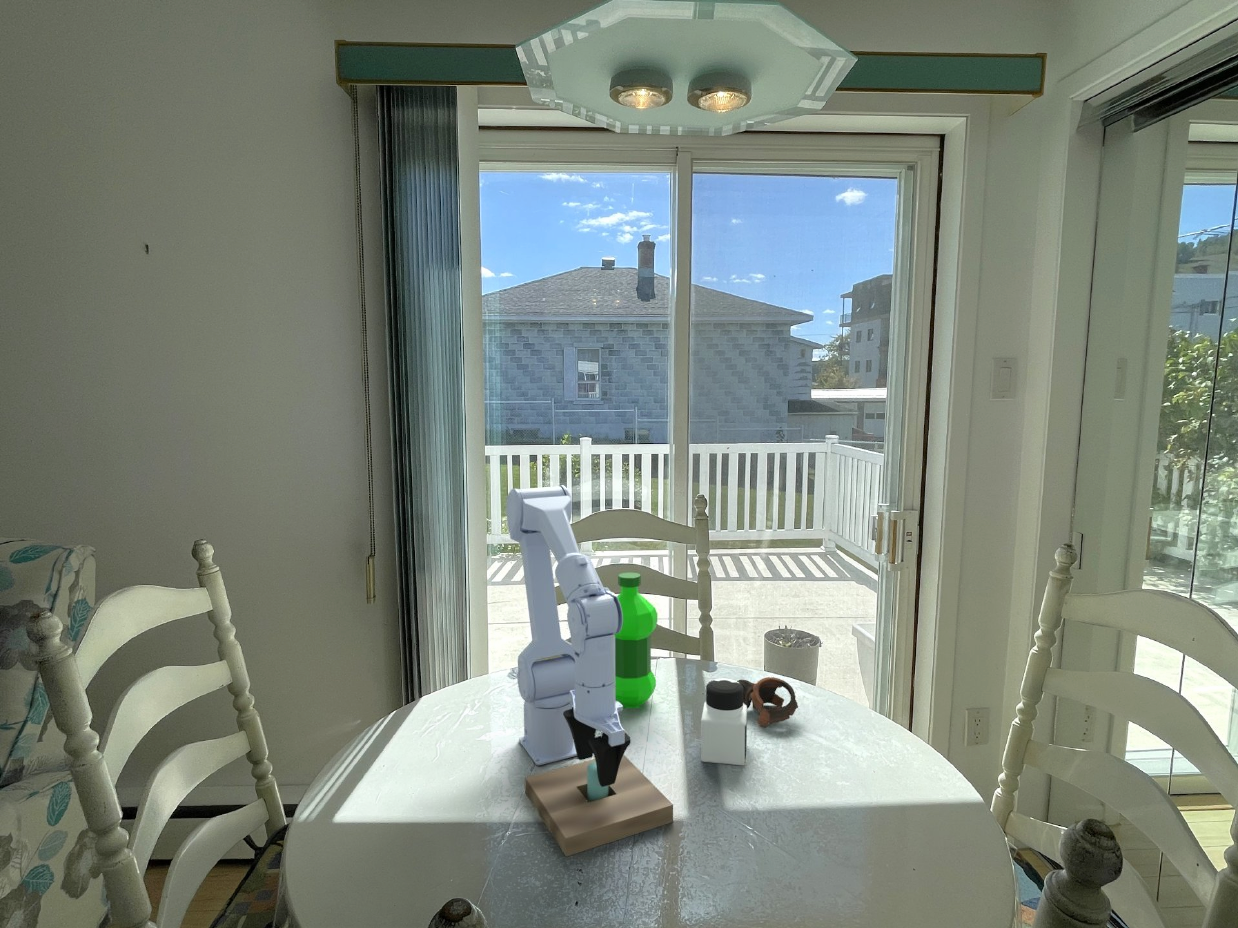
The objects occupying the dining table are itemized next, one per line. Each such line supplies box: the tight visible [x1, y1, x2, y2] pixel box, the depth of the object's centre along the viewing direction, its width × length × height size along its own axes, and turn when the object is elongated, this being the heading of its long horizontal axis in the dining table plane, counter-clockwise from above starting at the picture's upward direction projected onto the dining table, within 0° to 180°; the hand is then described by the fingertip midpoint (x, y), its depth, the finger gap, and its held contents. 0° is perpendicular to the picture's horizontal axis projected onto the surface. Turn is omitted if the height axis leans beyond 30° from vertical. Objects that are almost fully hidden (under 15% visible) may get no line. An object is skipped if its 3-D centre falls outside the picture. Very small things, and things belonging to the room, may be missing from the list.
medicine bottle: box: [700, 678, 748, 767], centre depth 113 cm, size 7×7×12 cm
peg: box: [587, 762, 608, 802], centre depth 99 cm, size 3×3×6 cm
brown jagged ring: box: [736, 676, 799, 728], centre depth 127 cm, size 12×10×8 cm
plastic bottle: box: [614, 572, 658, 709], centre depth 132 cm, size 10×10×25 cm
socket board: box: [524, 754, 674, 857], centre depth 99 cm, size 16×16×2 cm
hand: (595, 770), depth 99 cm, fingers open, 7 cm apart
